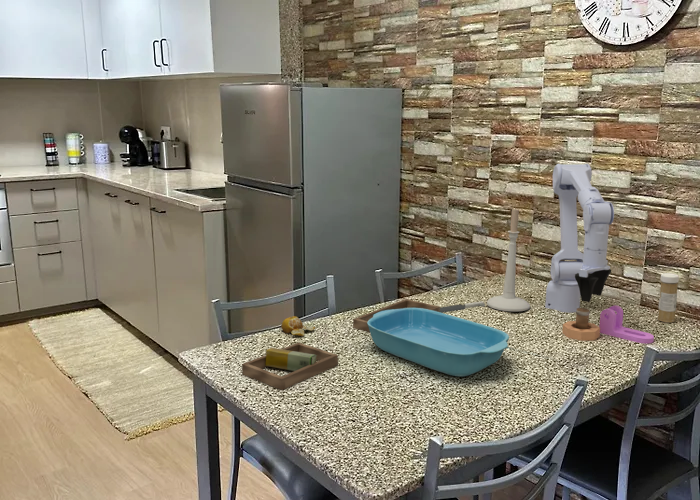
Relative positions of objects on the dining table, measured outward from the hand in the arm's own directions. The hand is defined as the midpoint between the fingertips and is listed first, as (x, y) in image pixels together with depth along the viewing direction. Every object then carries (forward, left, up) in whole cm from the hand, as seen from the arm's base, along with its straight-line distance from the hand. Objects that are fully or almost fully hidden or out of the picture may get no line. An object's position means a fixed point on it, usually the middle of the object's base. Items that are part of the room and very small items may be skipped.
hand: (591, 297), depth 170 cm
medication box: (-42, -71, -9) cm, 83 cm away
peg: (0, -5, -9) cm, 10 cm away
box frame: (-42, -71, -9) cm, 83 cm away
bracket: (+9, +3, -10) cm, 14 cm away
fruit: (-57, -50, -11) cm, 76 cm away
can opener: (-36, -5, -13) cm, 39 cm away
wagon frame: (-44, -27, -9) cm, 53 cm away
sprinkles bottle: (+14, +22, -9) cm, 28 cm away
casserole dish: (-23, -41, -10) cm, 47 cm away
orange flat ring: (0, -5, -9) cm, 10 cm away
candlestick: (-27, +7, -9) cm, 30 cm away
